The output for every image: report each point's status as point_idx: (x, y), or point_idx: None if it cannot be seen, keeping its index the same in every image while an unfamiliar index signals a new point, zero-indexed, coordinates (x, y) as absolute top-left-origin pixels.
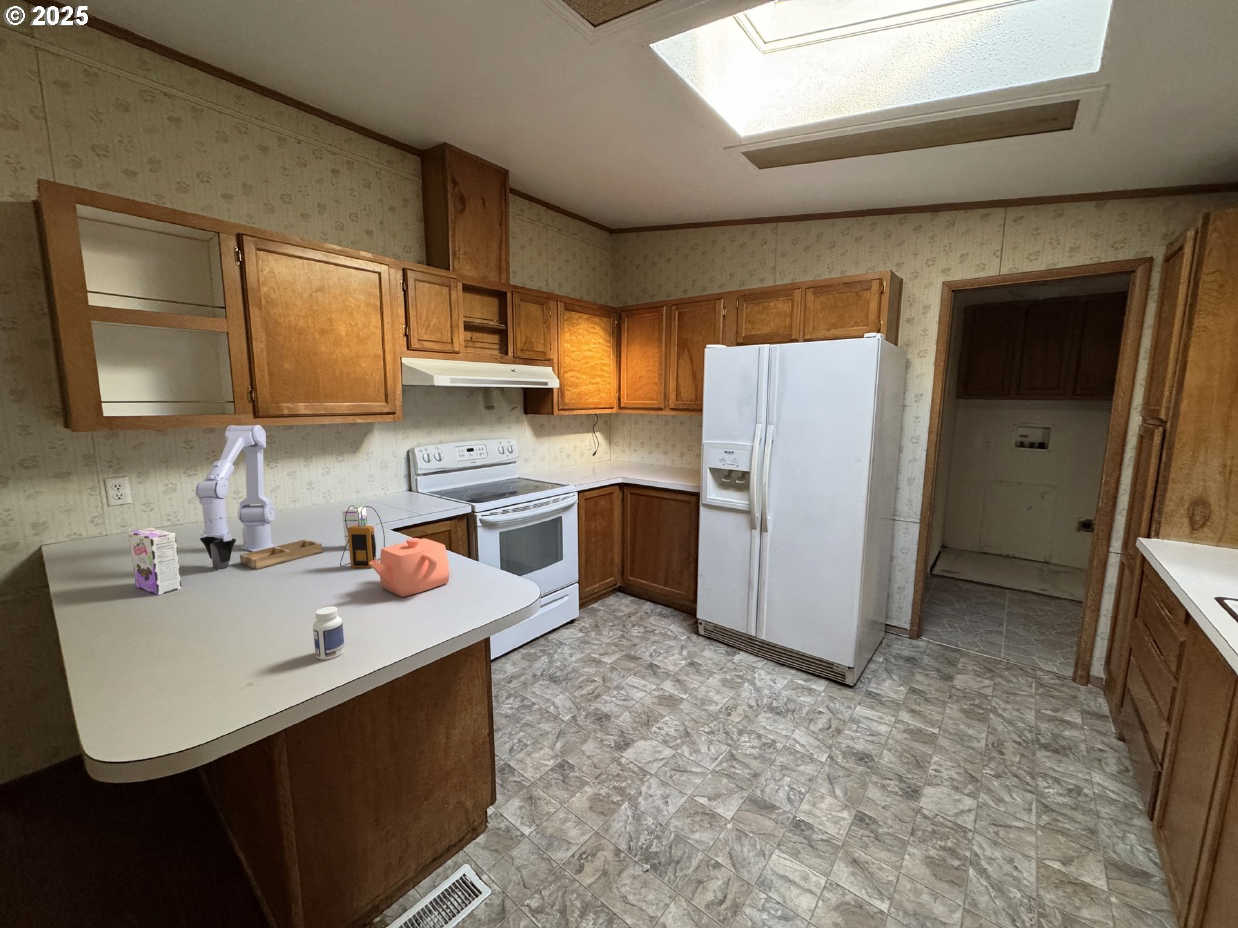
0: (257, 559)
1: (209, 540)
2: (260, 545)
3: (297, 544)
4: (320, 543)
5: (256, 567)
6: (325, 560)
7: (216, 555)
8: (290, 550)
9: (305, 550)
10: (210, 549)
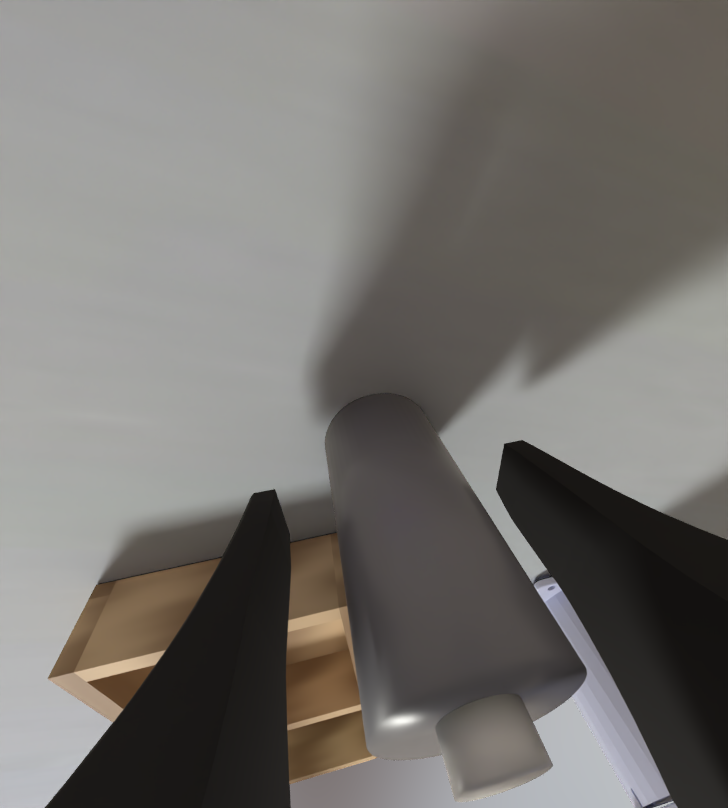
0: (64, 682)
1: (725, 679)
2: None
3: None
4: None
5: (89, 603)
6: (72, 756)
7: (354, 524)
8: None
9: None
10: (582, 525)
